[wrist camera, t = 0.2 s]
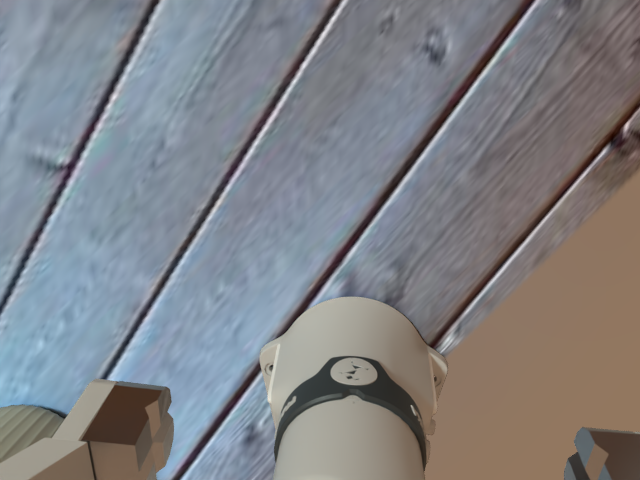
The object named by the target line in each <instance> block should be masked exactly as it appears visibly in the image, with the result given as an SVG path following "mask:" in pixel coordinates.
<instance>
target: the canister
mask: <svg viewBox="0 0 640 480" xmlns="http://www.w3.org/2000/svg"><path fill="white" fill-rule="evenodd" d="M64 420H65V419H64V418H62V417H60V416H59V415H58V414H55V413H53V412H51V411H50V410H46V409H43V408H41V407H35V406H33V405H28V406H26V405H23V404H22V405H10V406H7V407H1V408H0V463H2V462H3V461H5V460H7V459H8V458H10V457H12V456H14V455H15V454H17V453H19V452H20V451H22V450H24V449H26V448H27V447H29V446H31V445H33V444H34V443H36V442H38V441H39V440H41V439H43V438H52V437H53V436H54V434H55V433H56V431H57V430H58V428H59V427H60V425H61V424H62V423H63V421H64Z"/></svg>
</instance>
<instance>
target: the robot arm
mask: <svg viewBox="0 0 640 480" xmlns="http://www.w3.org/2000/svg"><path fill="white" fill-rule="evenodd" d="M259 359H260V365H261V369H262V373H263V378H264V382H265V386H266V390H267V395H268V402H269V403H270V408H271V412H272V416H273V420H274V425H275V429H276V432H275V439H276V440H275V446H274V455H275V462H276V466H275V471H274V476H273V480H425V476H424V471H425V466H426V464H427V462H428V459H429V455H430V442H429V441H428V440H426V434H428V435H433V434H434V430H435V421H434V420H432V415H434V414H436V413H437V400H438V398H439V395H440V392H441V389H442V387H443V384H444V381H445V378H446V376H447V372H448V365H447V361H446V359H445V358H444V357H443V356H442V355H441V354H439V353H438V352H437V351H435V350H434V349H432V348H431V347H429V346H428V345H426V343H425V342H424V341H423V340H422V338H421V337H420V335H419V333H418V332H417V330H416V329H415V327H414V326H413V325H412V323H411V322H410V321H409V320H408V319H407V318H406V317H405V316H404V315H402V314H401V313H400V312H399V311H397V310H396V309H394V308H392V307H391V306H389V305H387V304H384V303H382V302H379V301H376V300H373V299H369V298H363V297H340V298H335V299H331V300H327V301H324V302H322V303H319V304H317V305H315V306H313V307H311V308H310V309H308V310H307V311H305V312H304V313H303V314H302V315H301V316H300V317H299V318H298V319H297V320H296V321H295V322H294V323H293V324H292V326H291V327H290V328H289V330H288V331H287V332H286V333H285V334H284V335H283V336H281V337H279V338H277V339H275V340H273V341H271V342H269V343H268V344H266V345H265V346H264V347H263V348H262V349H261V351H260V358H259ZM271 365H273V368H272V367H271ZM434 376H436V377H435V378H434ZM170 404H171V394H170V389H169V388H167V387H163V386H155V385H147V384H139V383H131V382H123V381H120V382H117V381H110V380H102V379H95V380H93V381H92V382H90V383H89V384H88V386H87V387H86V389H85V390H84V392H83V393H82V395H81V396H80V398H79V399H78V401H77V402H76V403H75V405H74V406H73V408H72V409H71V411H70V412H69V414H68V415H67V417H66V418H65V420H64V421H63V423H62V424H61V425H60V427H59V428H58V430H57V431H56V433H55V434H54V436H53V437H52V438H43V439H41V440H39V441H38V442H36V443H34V444H33V445H31V446H29V447H27V448H26V449H24V450H22V451H20V452H19V453H17V454H15V455H14V456H12V457H10V458H8V459H7V460H5V461H3V462H2V463H0V480H157V479H156V473H157V472H158V471H159V470H161V469H162V468H163V467H165V465H166V463H167V460H168V457H169V455H170V451H171V447H172V442H173V434H174V423H173V418H172V417H171V416H170V415H169V413H168V412H167V411H168V409H169V406H170ZM574 443H575V446H576V448H577V451H578V452H577V453H575V454H574V455H572V456H571V457H569V458H568V460H567V464H566V467H565V471H564V480H640V432H629V431H618V430H607V429H596V428H584V427H582V428H581V429H580V430H579V431H578V432H577V435H576V437H575V440H574Z"/></svg>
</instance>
